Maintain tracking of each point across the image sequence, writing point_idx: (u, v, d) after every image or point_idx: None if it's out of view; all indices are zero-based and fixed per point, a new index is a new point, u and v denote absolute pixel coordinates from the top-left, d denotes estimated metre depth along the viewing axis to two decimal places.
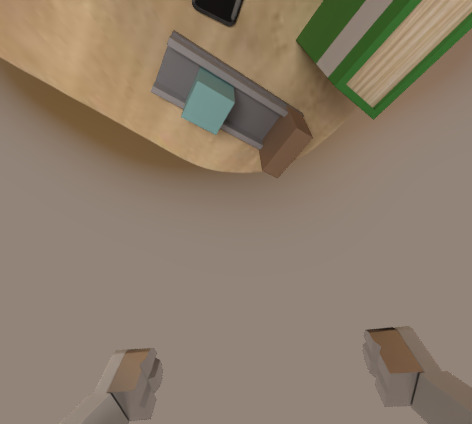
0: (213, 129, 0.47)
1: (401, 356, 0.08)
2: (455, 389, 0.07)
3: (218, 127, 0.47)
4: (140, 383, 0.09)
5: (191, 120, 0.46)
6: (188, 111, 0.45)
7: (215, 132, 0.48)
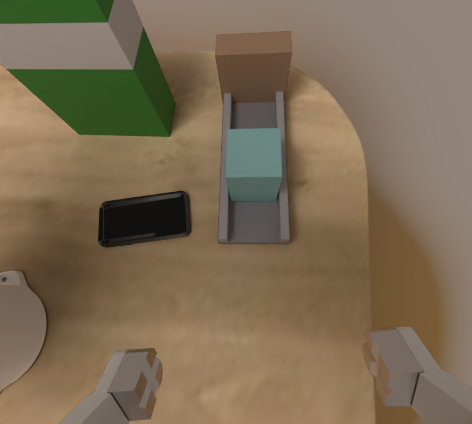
0: (275, 133, 0.33)
1: (401, 356, 0.08)
2: (455, 389, 0.07)
3: (268, 130, 0.34)
4: (140, 383, 0.09)
5: (278, 163, 0.32)
6: (269, 172, 0.32)
7: (277, 130, 0.33)
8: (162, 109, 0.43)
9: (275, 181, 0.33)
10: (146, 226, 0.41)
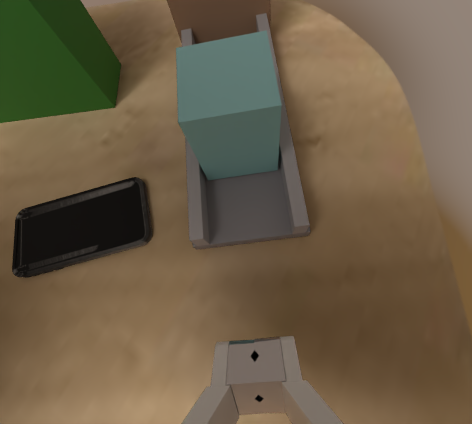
0: (259, 40, 0.19)
1: (272, 365, 0.08)
2: (305, 398, 0.07)
3: (246, 37, 0.19)
4: (256, 375, 0.08)
5: (272, 84, 0.17)
6: (256, 101, 0.17)
7: (261, 34, 0.19)
8: (92, 62, 0.29)
9: (270, 120, 0.18)
10: (84, 237, 0.27)
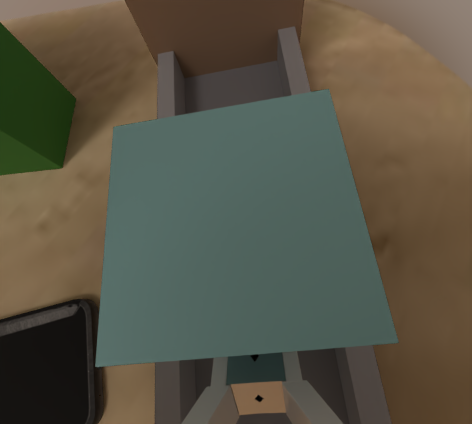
0: (311, 115, 0.08)
1: (272, 365, 0.08)
2: (305, 397, 0.07)
3: (278, 105, 0.08)
4: (256, 375, 0.08)
5: (360, 258, 0.06)
6: (318, 316, 0.06)
7: (316, 99, 0.08)
8: (12, 108, 0.18)
9: None
10: None
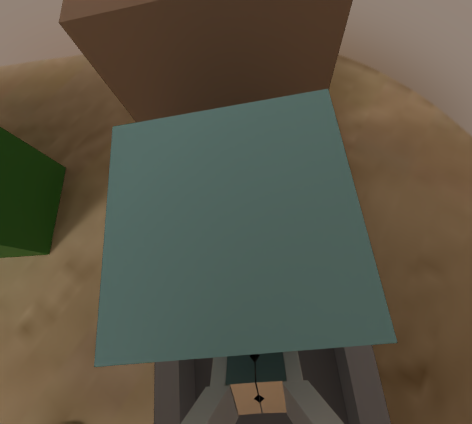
0: (310, 115, 0.08)
1: (273, 365, 0.08)
2: (306, 398, 0.07)
3: (277, 105, 0.08)
4: (255, 375, 0.08)
5: (359, 258, 0.06)
6: (317, 317, 0.06)
7: (316, 99, 0.08)
8: None
9: None
10: None
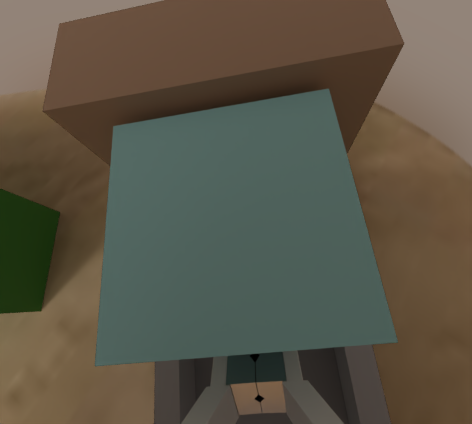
0: (311, 115, 0.08)
1: (273, 365, 0.08)
2: (306, 398, 0.07)
3: (278, 105, 0.08)
4: (255, 375, 0.08)
5: (360, 258, 0.06)
6: (318, 317, 0.06)
7: (316, 98, 0.08)
8: None
9: None
10: None
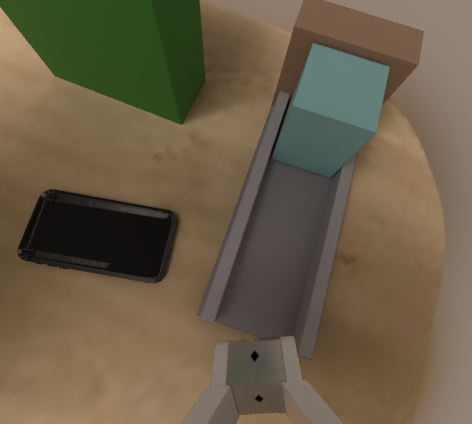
0: (380, 71, 0.22)
1: (272, 365, 0.08)
2: (305, 397, 0.07)
3: (371, 63, 0.22)
4: (256, 375, 0.08)
5: (376, 112, 0.21)
6: (358, 119, 0.20)
7: (384, 67, 0.22)
8: (182, 82, 0.28)
9: (358, 139, 0.22)
10: (99, 248, 0.26)
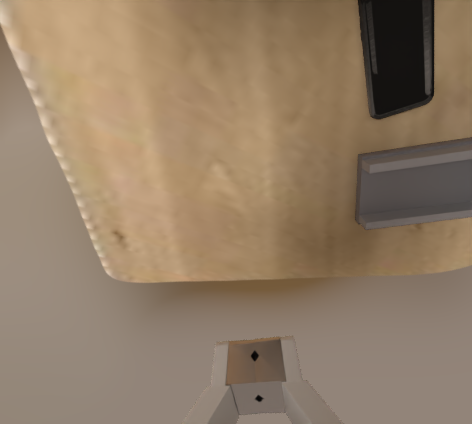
0: None
1: (272, 365, 0.08)
2: (305, 397, 0.07)
3: None
4: (256, 375, 0.08)
5: None
6: None
7: None
8: None
9: None
10: (386, 57, 0.31)
